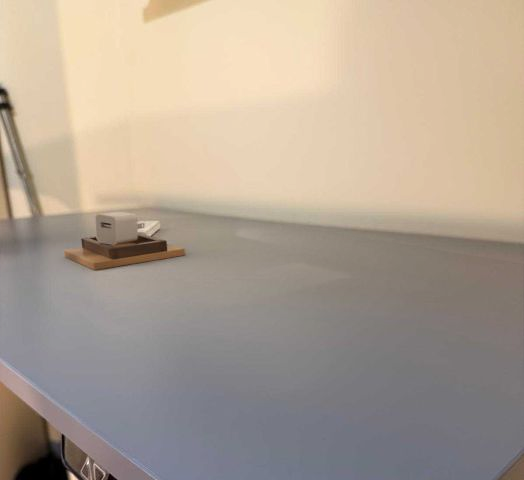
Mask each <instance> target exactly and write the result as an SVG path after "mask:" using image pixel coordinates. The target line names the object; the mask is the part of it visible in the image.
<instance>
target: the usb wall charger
mask: <svg viewBox="0 0 524 480" xmlns="http://www.w3.org/2000/svg"><path fill="white" fill-rule="evenodd" d="M94 217H95V218H94V219H95V220H94V223H95V236H96V238H97V240H98V241H99V242H101V243H106V244H112V245H116V244H121V243H127V242H132V241H136V240H137V239H138V229H141V228H145V227H144V223H140V224H137V221H138V216H137V215H136V214H135V213H132V212H126V211H113V212H104V213H103V212H102V213H97V214H96V215H95V216H94ZM142 224H143V227H142Z"/></svg>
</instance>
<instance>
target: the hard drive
mask: <svg viewBox="0 0 524 480" xmlns="http://www.w3.org/2000/svg"><path fill="white" fill-rule="evenodd" d="M140 223H144V227H145V228H141V229H138V233H140V234H144V235H147V236H151V237H152V235H154V234H155V233H156V232H157V231H159V230H160V229H161V222H160V221H159V220H139V221H138V220H137V224H140ZM142 227H143V224H142Z"/></svg>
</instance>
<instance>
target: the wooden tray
mask: <svg viewBox="0 0 524 480" xmlns="http://www.w3.org/2000/svg"><path fill="white" fill-rule="evenodd" d="M80 242H81V247H79V248H72V249H71V248H70V249H65V250H63V253H64V258H67V259H69V260H71V261H74V262H76V263H77V264H80V265H83V266H85V267H87V268H89V269H91V270H94V271H100V270H105V269H111V268H115V267H116V268H117V267H122V266H128V265H134V264H140V263H147V262H152V261H159V260H164V259H171V258H177V257H181V256H182V257H183V256H185V255H186V249H185V248H184V247H181V246H176V245H173V244H170V243H168V242H167V240H165V239H162V238H159V237H158V238H157V237H154V236H152V235H151V236H147V235H144V234H140V233H138V239H137V240H136V241H132V242H127V243H121V244H116V245H112V244H106V243H101V242H99V241H98V240H97V238H96V235H95V236H88V237H81V238H80Z"/></svg>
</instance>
